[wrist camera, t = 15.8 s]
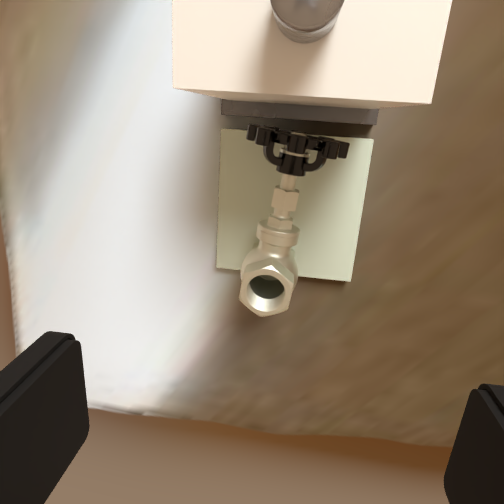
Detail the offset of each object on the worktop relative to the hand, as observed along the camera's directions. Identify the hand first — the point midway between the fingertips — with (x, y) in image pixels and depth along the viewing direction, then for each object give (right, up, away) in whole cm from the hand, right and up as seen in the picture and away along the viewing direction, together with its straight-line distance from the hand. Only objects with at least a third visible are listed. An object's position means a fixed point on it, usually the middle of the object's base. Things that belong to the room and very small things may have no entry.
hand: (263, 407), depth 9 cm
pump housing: (+3, +17, +18) cm, 25 cm away
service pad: (+3, +7, +22) cm, 23 cm away
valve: (+2, +7, +21) cm, 22 cm away
